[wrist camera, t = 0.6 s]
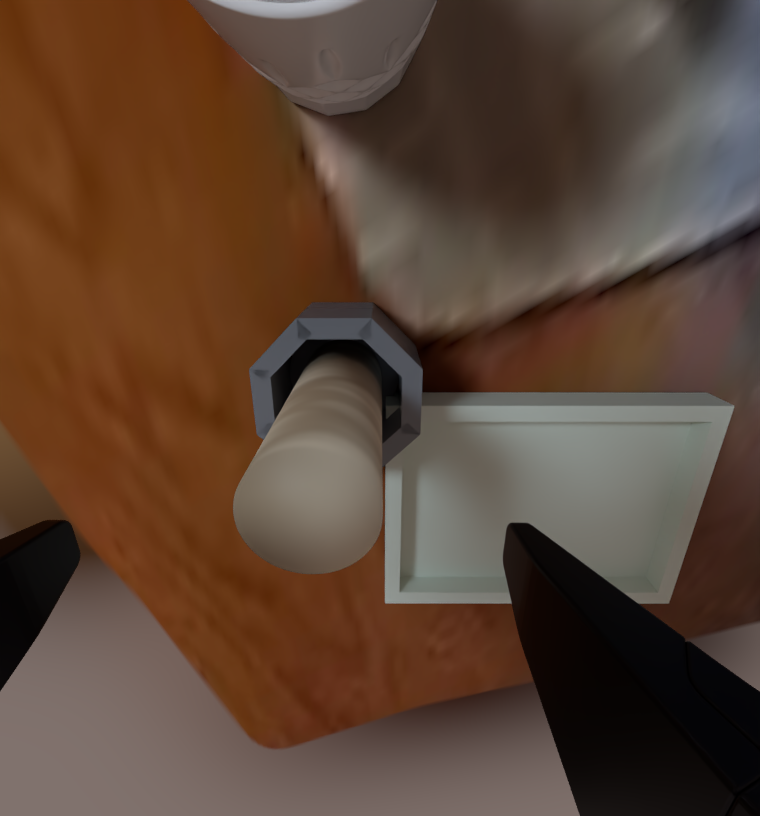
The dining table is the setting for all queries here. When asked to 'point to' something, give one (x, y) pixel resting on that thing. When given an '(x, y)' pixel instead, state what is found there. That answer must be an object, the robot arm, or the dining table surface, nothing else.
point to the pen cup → (348, 322)
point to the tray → (548, 488)
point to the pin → (319, 467)
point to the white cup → (324, 45)
